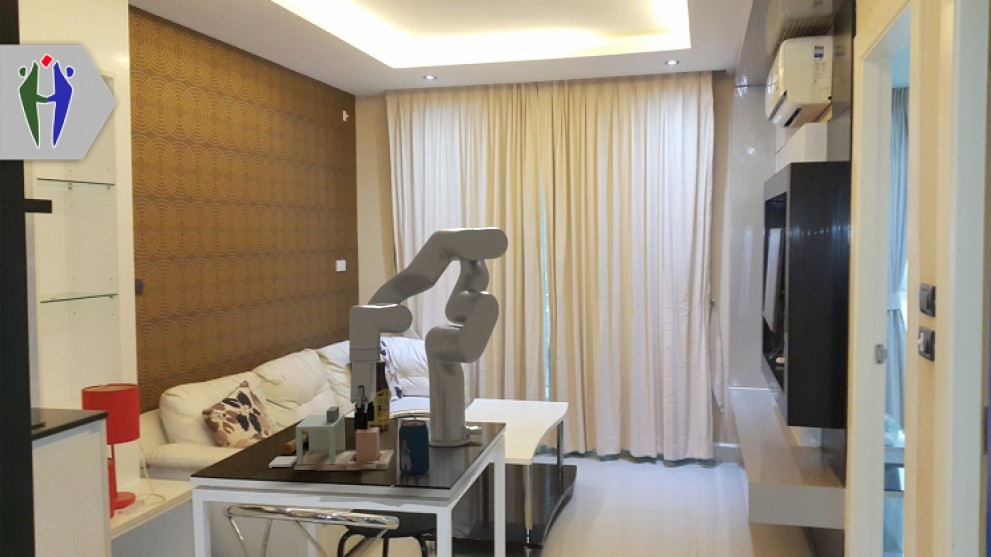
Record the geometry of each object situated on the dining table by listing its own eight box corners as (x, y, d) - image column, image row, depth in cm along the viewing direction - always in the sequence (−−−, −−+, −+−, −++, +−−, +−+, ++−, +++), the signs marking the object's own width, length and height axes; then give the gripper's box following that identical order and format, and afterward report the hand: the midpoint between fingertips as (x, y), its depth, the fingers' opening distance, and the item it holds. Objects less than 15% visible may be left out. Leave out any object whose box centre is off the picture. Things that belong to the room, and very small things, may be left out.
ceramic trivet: (297, 459, 188) (296, 456, 188) (289, 467, 181) (289, 464, 181) (277, 459, 188) (277, 456, 188) (268, 467, 181) (268, 464, 181)
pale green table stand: (345, 449, 191) (344, 403, 191) (334, 463, 178) (333, 414, 178) (310, 449, 191) (308, 403, 191) (296, 464, 178) (295, 415, 178)
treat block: (380, 459, 187) (379, 427, 187) (376, 465, 182) (376, 432, 182) (360, 459, 187) (359, 427, 187) (356, 465, 182) (355, 432, 182)
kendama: (303, 460, 192) (338, 434, 209) (297, 437, 191) (332, 412, 208) (278, 464, 195) (315, 437, 212) (272, 441, 194) (309, 416, 211)
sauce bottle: (380, 432, 215) (378, 363, 214) (363, 430, 218) (362, 362, 218) (395, 427, 220) (393, 360, 220) (379, 425, 224) (377, 359, 223)
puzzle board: (394, 454, 191) (394, 449, 191) (386, 469, 178) (386, 464, 178) (307, 456, 191) (307, 451, 191) (294, 471, 178) (294, 465, 178)
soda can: (430, 469, 178) (429, 419, 178) (428, 478, 171) (427, 425, 171) (401, 469, 178) (400, 419, 177) (398, 478, 171) (396, 426, 170)
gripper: (356, 351, 192) (355, 418, 193) (342, 359, 175) (342, 432, 175) (385, 351, 192) (384, 418, 193) (374, 359, 175) (374, 432, 175)
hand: (364, 425), depth 184 cm, fingers open, 9 cm apart
